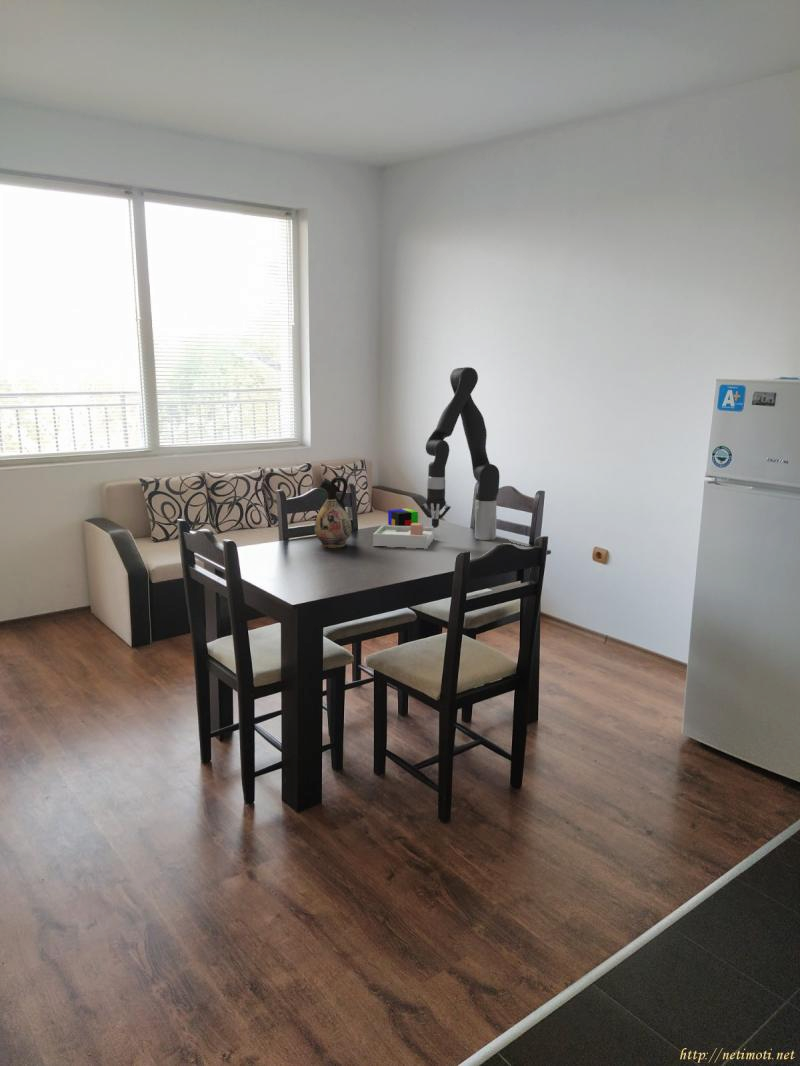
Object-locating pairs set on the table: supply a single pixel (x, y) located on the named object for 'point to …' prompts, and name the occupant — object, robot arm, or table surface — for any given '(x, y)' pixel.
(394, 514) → the puzzle toy
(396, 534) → the box
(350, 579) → the table surface
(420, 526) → the block
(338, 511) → the ceramic jug
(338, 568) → the table surface
